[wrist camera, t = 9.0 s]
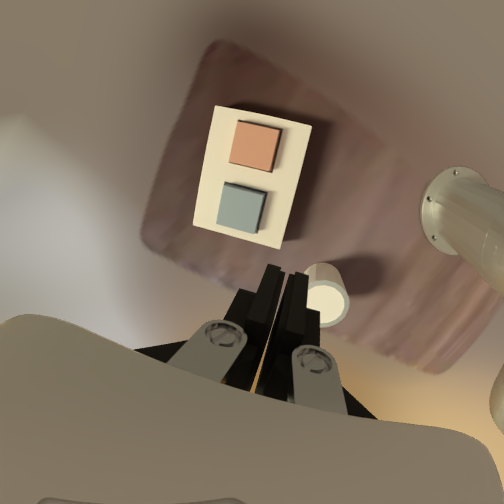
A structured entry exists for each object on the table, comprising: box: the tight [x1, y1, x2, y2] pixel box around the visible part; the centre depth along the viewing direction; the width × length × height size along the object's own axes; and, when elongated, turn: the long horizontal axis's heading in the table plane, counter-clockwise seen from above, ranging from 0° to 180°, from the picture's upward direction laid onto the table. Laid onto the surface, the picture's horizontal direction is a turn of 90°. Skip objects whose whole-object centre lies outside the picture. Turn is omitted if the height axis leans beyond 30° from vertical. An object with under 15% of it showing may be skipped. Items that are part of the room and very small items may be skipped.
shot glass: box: [304, 263, 349, 327], centre depth 39 cm, size 7×7×7 cm
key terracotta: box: [229, 121, 281, 171], centre depth 35 cm, size 5×5×2 cm
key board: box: [193, 106, 312, 249], centre depth 38 cm, size 12×16×3 cm
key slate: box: [216, 183, 266, 234], centre depth 38 cm, size 5×5×2 cm
